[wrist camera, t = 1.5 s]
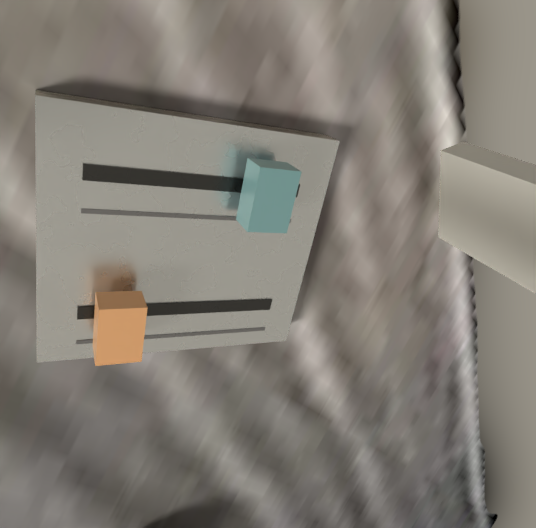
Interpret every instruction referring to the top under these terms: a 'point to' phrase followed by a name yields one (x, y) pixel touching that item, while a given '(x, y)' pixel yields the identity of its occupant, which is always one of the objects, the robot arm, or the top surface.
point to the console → (165, 224)
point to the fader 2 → (267, 196)
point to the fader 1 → (119, 327)
